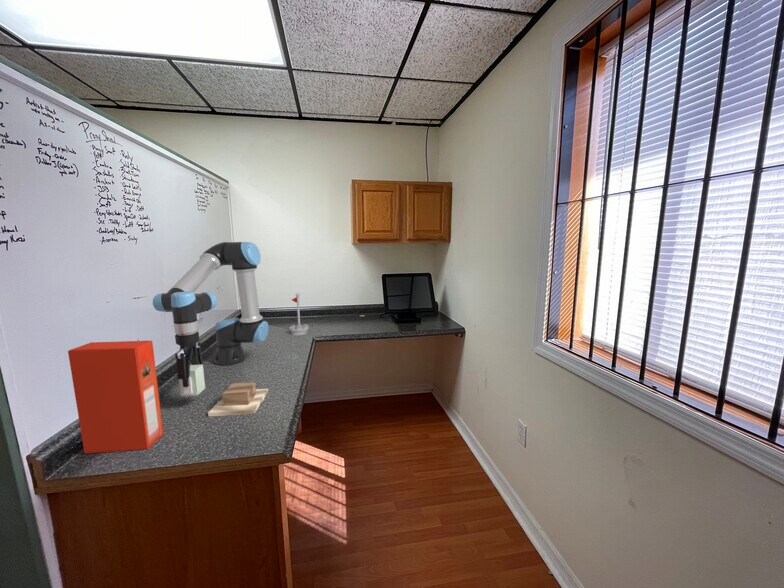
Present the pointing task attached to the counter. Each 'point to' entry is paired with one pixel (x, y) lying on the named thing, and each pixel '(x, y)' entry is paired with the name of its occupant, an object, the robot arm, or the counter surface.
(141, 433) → the file binder
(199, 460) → the counter surface
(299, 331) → the flag stand
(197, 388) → the sage pillar
